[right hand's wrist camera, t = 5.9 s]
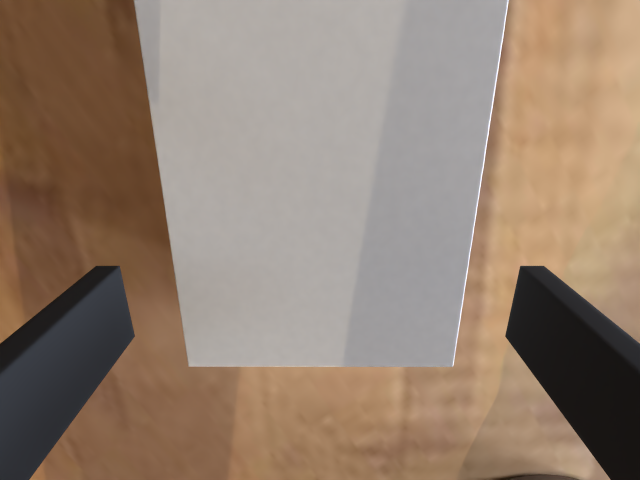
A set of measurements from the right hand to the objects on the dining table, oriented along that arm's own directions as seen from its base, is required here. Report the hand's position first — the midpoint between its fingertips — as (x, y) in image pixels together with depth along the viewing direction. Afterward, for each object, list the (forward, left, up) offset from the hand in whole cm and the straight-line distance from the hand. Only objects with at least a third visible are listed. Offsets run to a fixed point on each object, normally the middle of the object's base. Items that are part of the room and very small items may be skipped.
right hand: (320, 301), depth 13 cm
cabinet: (+1, -5, -10) cm, 12 cm away
